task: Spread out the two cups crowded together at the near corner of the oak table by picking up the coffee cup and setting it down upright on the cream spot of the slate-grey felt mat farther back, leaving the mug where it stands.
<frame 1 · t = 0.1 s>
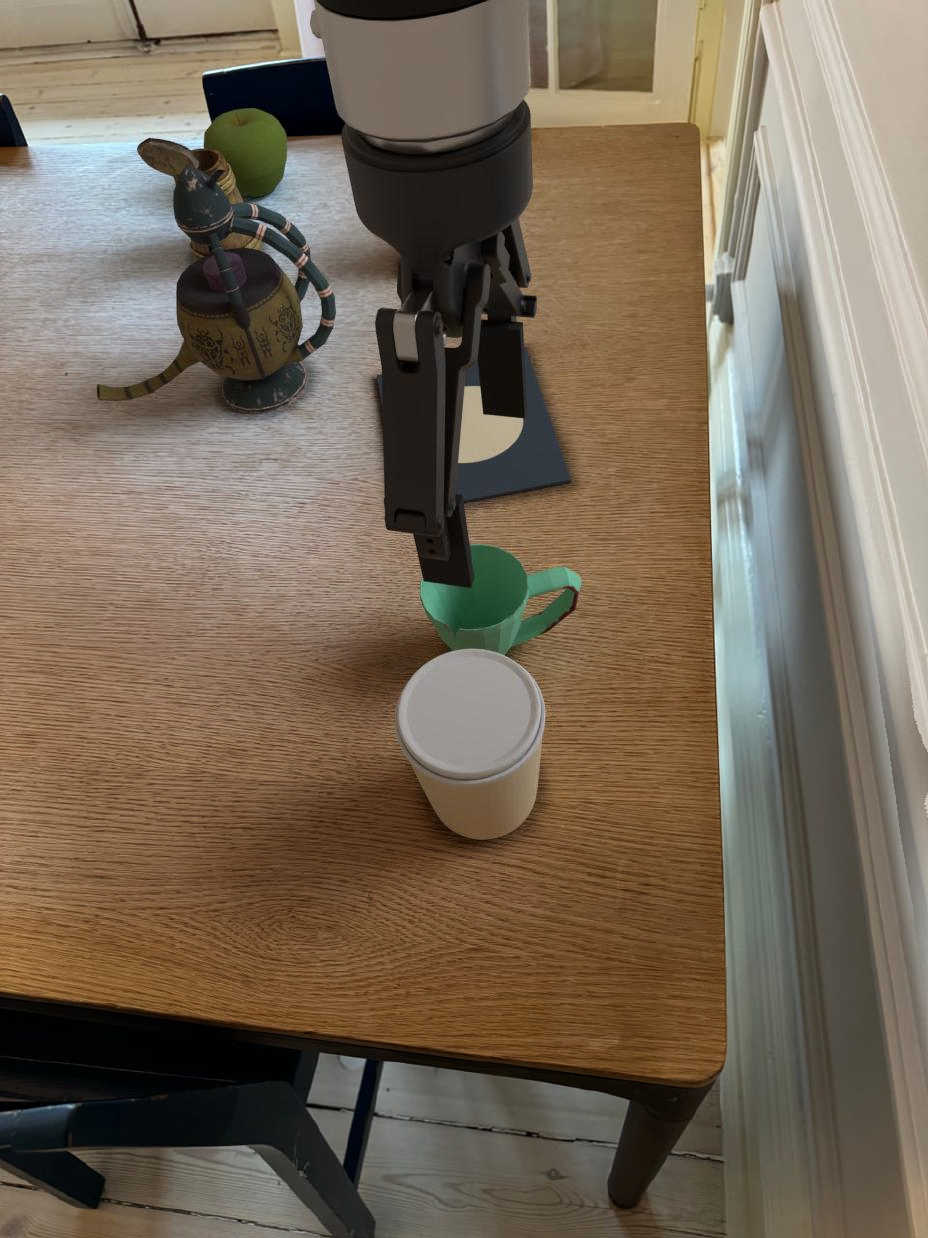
hand: (479, 490, 50), 21 cm above the table, tool pointing down, fingers open, 13 cm apart
apple: (260, 192, 115), on the table
teapot: (233, 396, 91), on the table
coffee cup: (483, 790, 62), on the table
place mat: (467, 426, 84), on the table
wooden mug: (224, 262, 106), on the table
mug: (506, 644, 69), on the table
mug 2: (428, 256, 102), on the table
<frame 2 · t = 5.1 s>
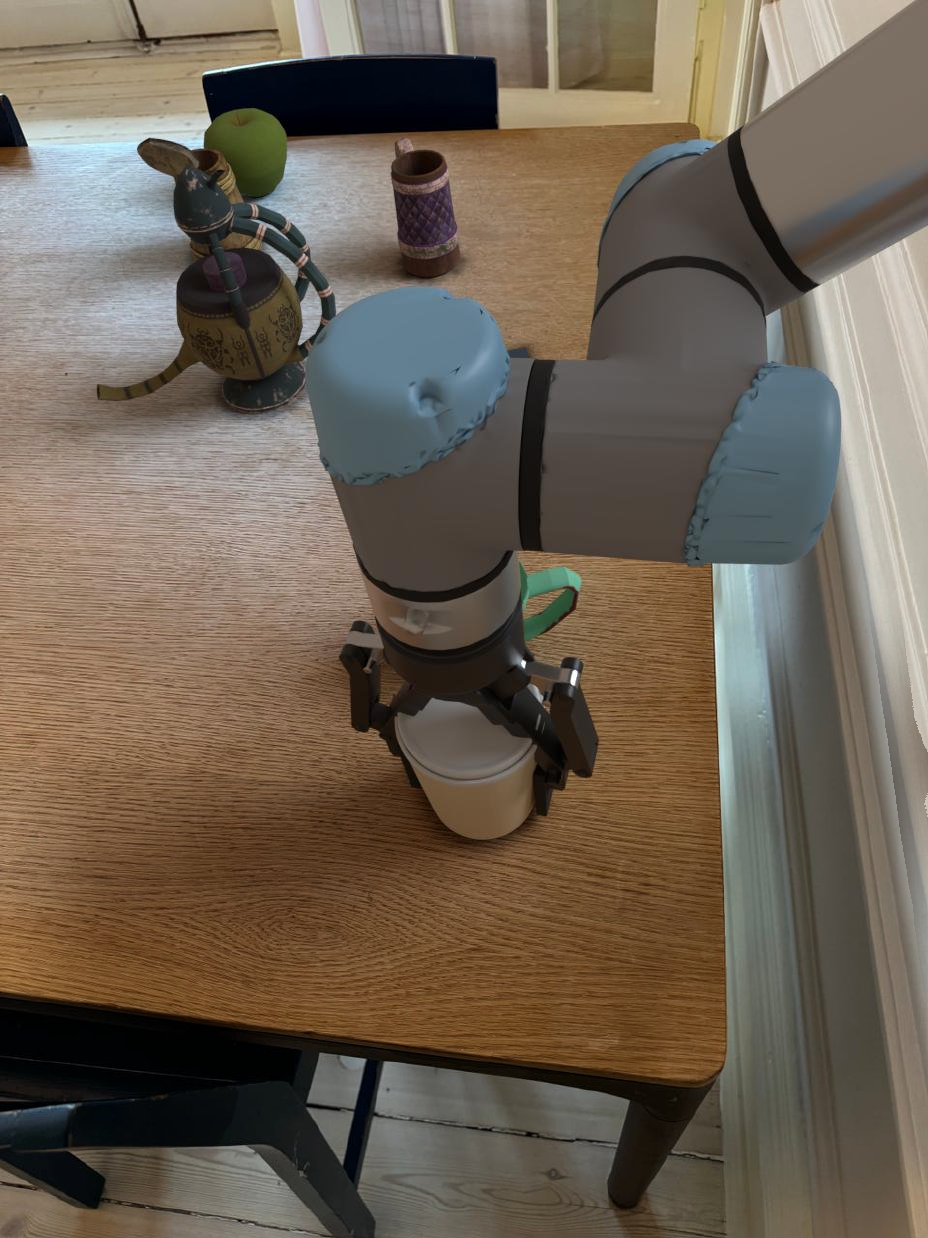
hand: (482, 784, 61), 1 cm above the table, tool pointing down, fingers closed on coffee cup, 8 cm apart
coffee cup: (483, 790, 62), on the table, touching gripper
everything else where it was.
when the fingers open (1 cm above the table, at t = 13.5 s): coffee cup stays where it is, resting on place mat.
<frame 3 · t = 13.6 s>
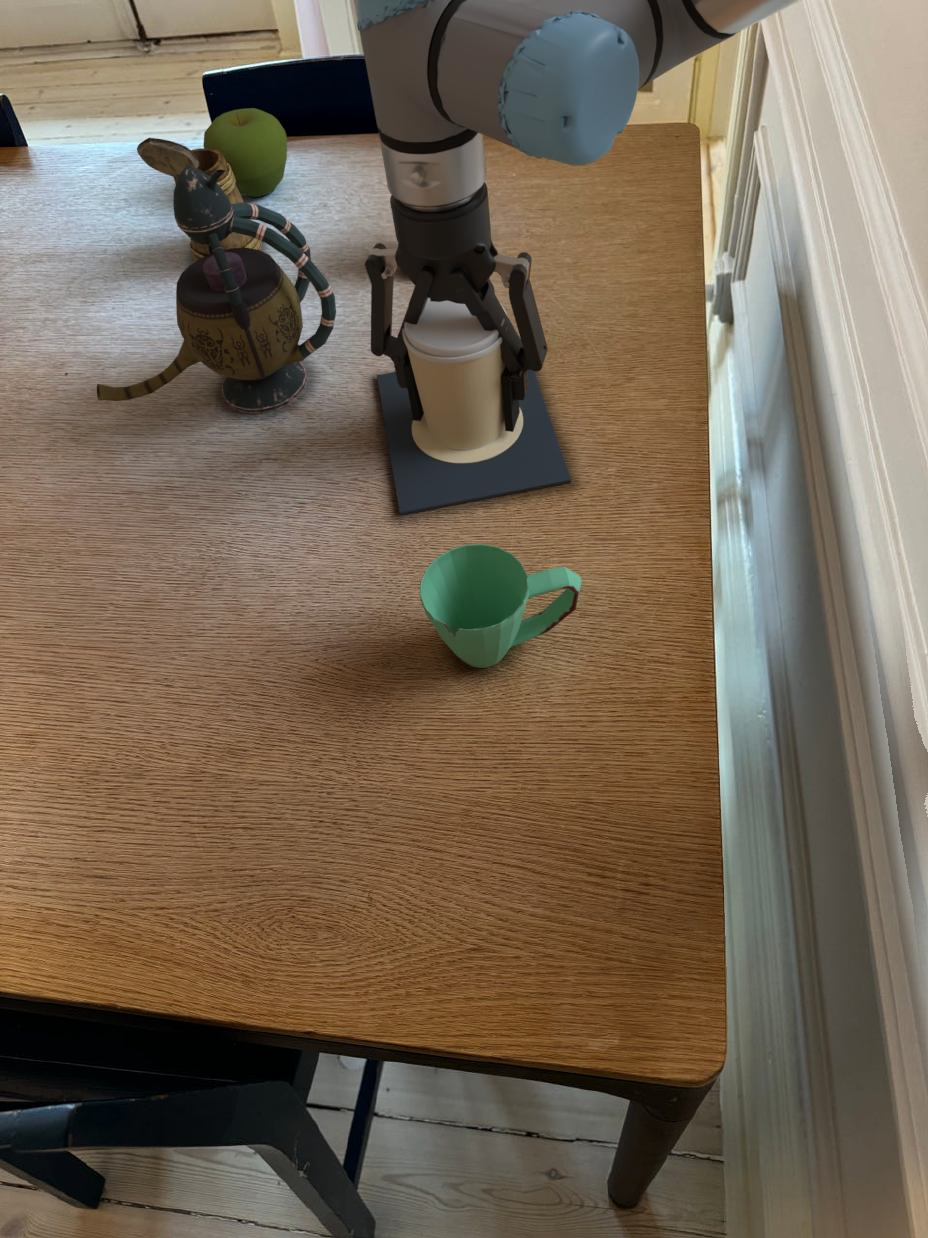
hand: (466, 416, 83), 1 cm above the table, tool pointing down, fingers open, 9 cm apart
coffee cup: (467, 424, 84), resting on place mat
everything else where it was.
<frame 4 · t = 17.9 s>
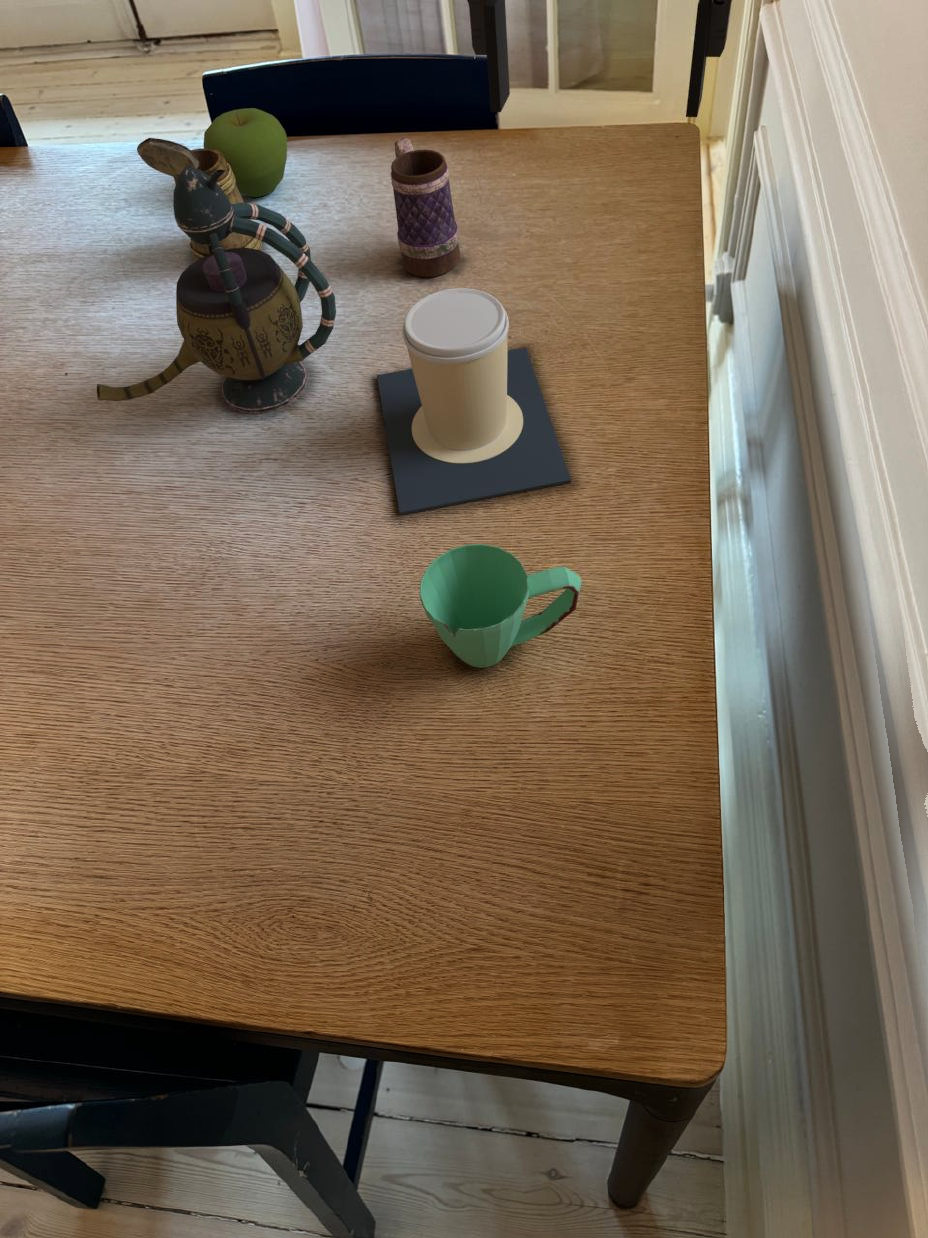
hand: (594, 105, 60), 29 cm above the table, tool pointing down, fingers open, 13 cm apart
nothing on the table moved.
at the end: coffee cup inside the target area on the place mat (0.0 cm from its centre), point 0.3 cm above the place mat's base; coffee cup tilted 0°; mug moved 0.2 cm from its start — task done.
